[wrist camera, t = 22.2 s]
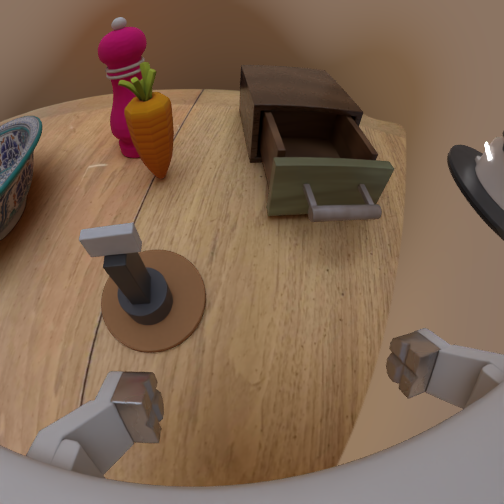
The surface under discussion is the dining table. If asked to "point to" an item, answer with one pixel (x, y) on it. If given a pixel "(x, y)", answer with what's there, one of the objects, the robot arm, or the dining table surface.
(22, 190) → the bowl
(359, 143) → the drawer
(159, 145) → the carrot
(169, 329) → the coaster
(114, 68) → the pepper mill
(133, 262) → the dark grey tall piece
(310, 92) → the cabinet
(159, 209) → the dining table surface
